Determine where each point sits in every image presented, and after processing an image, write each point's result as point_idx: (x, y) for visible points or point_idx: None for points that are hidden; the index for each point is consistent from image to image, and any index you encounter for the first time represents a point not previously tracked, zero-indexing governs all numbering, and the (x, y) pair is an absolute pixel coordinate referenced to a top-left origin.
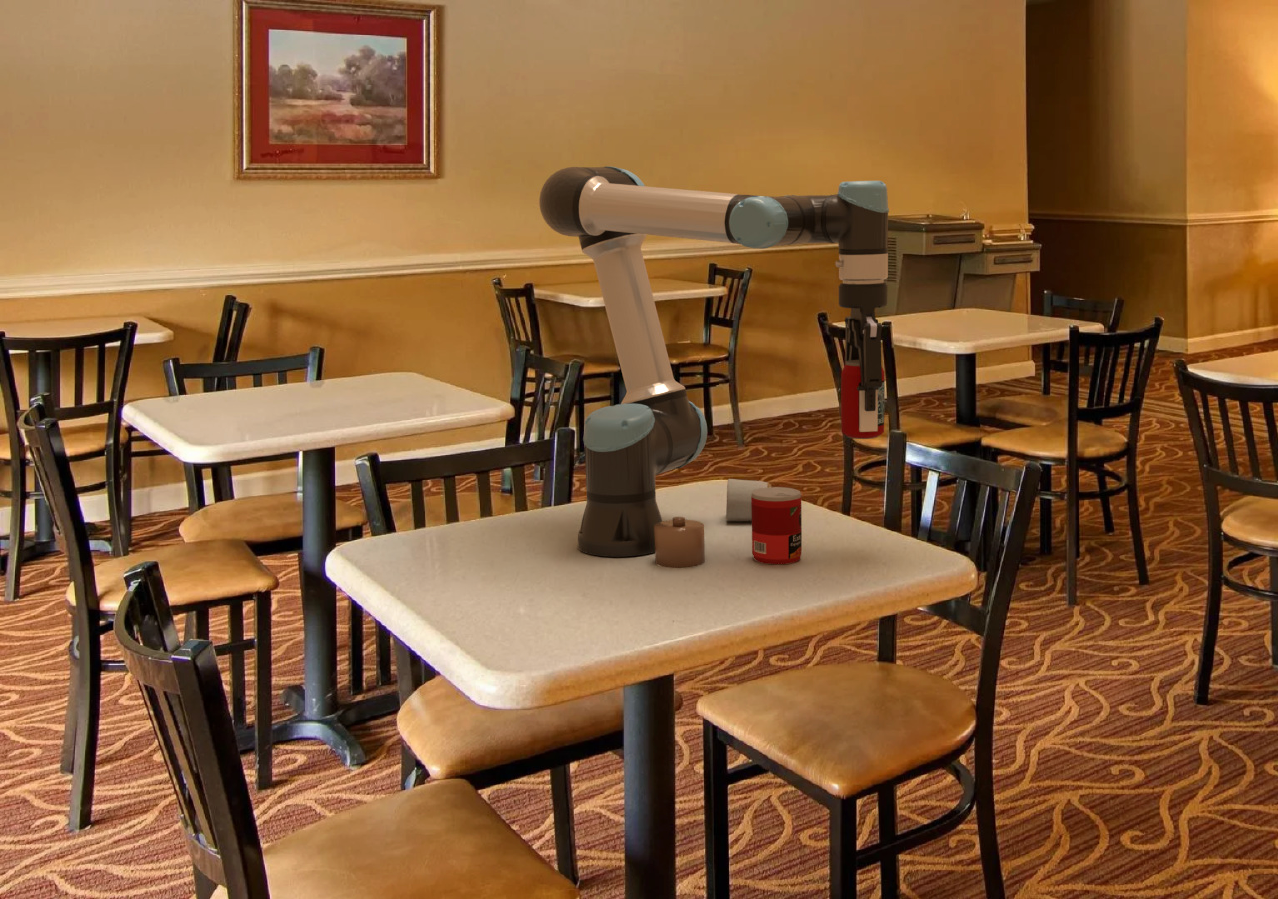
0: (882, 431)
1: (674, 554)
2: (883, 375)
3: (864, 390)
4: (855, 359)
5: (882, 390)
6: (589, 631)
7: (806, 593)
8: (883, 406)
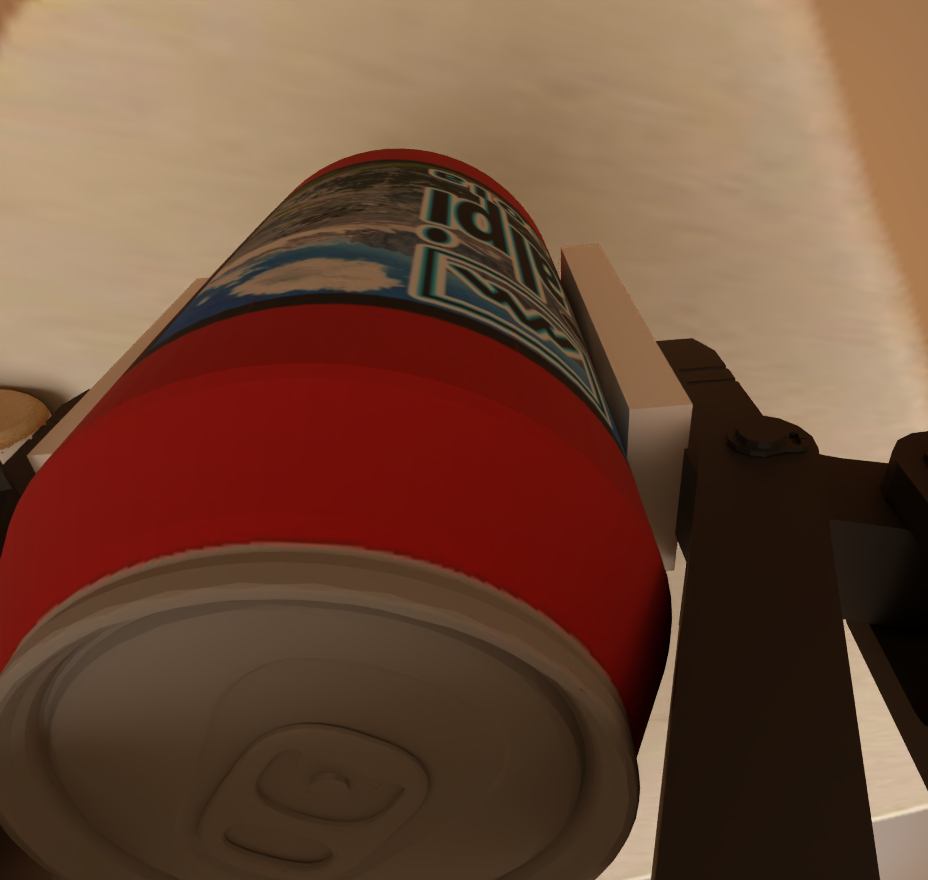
0: (486, 177)
1: None
2: (505, 382)
3: (674, 535)
4: (16, 869)
5: (522, 304)
6: (878, 707)
7: (803, 365)
8: (486, 223)
